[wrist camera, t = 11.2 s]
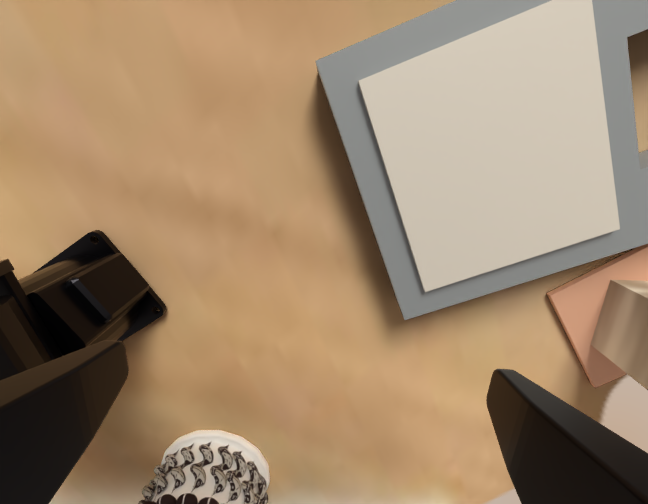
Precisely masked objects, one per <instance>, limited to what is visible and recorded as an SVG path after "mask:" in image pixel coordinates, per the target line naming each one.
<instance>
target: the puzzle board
mask: <svg viewBox="0 0 648 504" xmlns="http://www.w3.org/2000/svg"><path fill="white" fill-rule="evenodd" d="M647 29H648V0H456V1H453V2H451V3H449V4H446V5H444V6H442V7H440V8H437V9H435V10H433V11H430V12H428V13H426V14H423V15H421V16H419V17H416V18H414V19H412V20H409V21H407V22H405V23H402V24H400V25H398V26H395V27H393V28H391V29H388V30H386V31H384V32H381V33H379V34H377V35H375V36H372V37H370V38H368V39H365V40H363V41H361V42H358V43H356V44H354V45H351V46H349V47H347V48H344V49H342V50H340V51H337V52H335V53H333V54H330V55H328V56H326V57H323V58H321V59H319V60H317V61H316V66H317V70H318V74H319V77H320V79H321V82H322V85H323V88H324V91H325V94H326V97H327V100H328V103H329V105H330V108H331V111H332V114H333V117H334V120H335V123H336V126H337V129H338V132H339V134H340V137H341V140H342V143H343V146H344V149H345V152H346V155H347V158H348V161H349V163H350V166H351V169H352V172H353V175H354V178H355V181H356V184H357V187H358V189H359V192H360V195H361V198H362V201H363V204H364V207H365V210H366V213H367V216H368V218H369V221H370V224H371V227H372V230H373V233H374V236H375V239H376V242H377V245H378V247H379V250H380V253H381V256H382V259H383V262H384V265H385V268H386V271H387V273H388V276H389V279H390V282H391V285H392V288H393V291H394V294H395V297H396V300H397V302H398V305H399V307H400V310H401V312H402V315H403V317H404V320H407V319H410V318H414V317H417V316H420V315H423V314H426V313H429V312H433V311H436V310H439V309H442V308H445V307H448V306H452V305H455V304H458V303H461V302H464V301H468V300H471V299H474V298H477V297H480V296H483V295H487V294H490V293H493V292H496V291H499V290H502V289H506V288H509V287H512V286H515V285H518V284H521V283H525V282H528V281H531V280H534V279H537V278H541V277H544V276H547V275H550V274H553V273H556V272H560V271H563V270H566V269H569V268H572V267H575V266H579V265H582V264H585V263H588V262H591V261H595V260H598V259H601V258H604V257H607V256H610V255H614V254H617V253H620V252H623V251H626V250H629V249H633V248H636V247H639V246H642V245H645V244H648V150H646V151H643V152H640V153H638V142H637V132H636V122H635V112H634V102H633V92H632V82H631V72H630V62H629V52H628V42H627V37H629V36H632V35H634V34H637V33H639V32H642V31H644V30H647Z"/></svg>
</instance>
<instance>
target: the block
mask: <svg viewBox="0 0 648 504" xmlns="http://www.w3.org/2000/svg"><path fill="white" fill-rule="evenodd" d="M591 345H592V346H593V347H594V348H595V349H597V350H598V351H599V352H600V353H602V354H603V355H604V356H606V357H607V358H608V359H609V360H611V361H612V362H613V363H614V364H616V365H617V366H618V367H619V368H621V369H622V370H623V371H624V372H626V373H627V374H628V375H629V376H631V377H632V378H633V379H634V380H636V381H637V382H638V383H640V384H641V385H642V386H643V387H645V388H646V389H647V390H648V281H638V280H610V283H609V286H608V289H607V293H606V296H605V299H604V302H603V306H602V309H601V312H600V315H599V319H598V322H597V325H596V328H595V332H594V335H593V338H592V341H591Z"/></svg>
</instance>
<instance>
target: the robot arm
mask: <svg viewBox="0 0 648 504" xmlns="http://www.w3.org/2000/svg"><path fill="white" fill-rule="evenodd" d="M94 236H96V237H97V238H98V240H99V242H97V241H96V240H95V238H94ZM12 270H14V268H13V266H12V264H11V263H10V261H9V259H6V260H2V261H0V504H49V502H50V501H51V499H52V498H53V496H54V495H55V494H56V492H57V491H58V489H59V488H60V486H61V485H62V483H63V482H64V480H65V479H66V478H67V476H68V475H69V473H70V472H71V470H72V469H73V467H74V466H75V464H76V463H77V462H78V460H79V459H80V457H81V456H82V454H83V453H84V451H85V450H86V448H87V447H88V445H89V444H90V442H91V441H92V439H93V438H94V436H95V434H96V433H97V431H98V429H99V428H100V426H101V424H102V422H103V420H104V419H105V417H106V415H107V413H108V411H109V410H110V408H111V406H112V404H113V403H114V401H115V399H116V397H117V395H118V394H119V392H120V390H121V388H122V386H123V385H124V383H125V381H126V379H127V376H128V362H127V355H126V349H125V345H124V343H123V342H121V341H123V340H124V339H126V338H128V337H129V336H131V335H132V334H134V333H136V332H137V331H139V330H140V329H142V328H144V327H145V326H147V325H148V324H150V323H151V322H153V321H155V320H156V319H158V318H159V317H161V316H162V315H163V314H164V313H165V312H166V305H165V304H164V303H163V301H162V300H161V299H160V298H159V297H158V296H157V294H156V293H155V292H154V291H153V290H152V289H151V287H150V286H149V284H148V283H147V282H146V281H145V280H144V278H143V277H142V276H141V275H140V274H139V273H138V271H137V270H136V269H135V268H134V267H133V266H132V264H131V263H130V262H129V261H128V260H127V259H126V257H125V256H124V255H123V254H121V252H120V251H119V250H118V249H117V248H116V247H115V245H114V244H113V243H112V242H111V241H110V240H109V238H108V237H107V236H106V235H105V234H104V233H103V232H102V231H99V230H95V231H92V232H90V233H88V234H86V235H85V236H84V237H82V238H81V239H79V240H78V241H77V242H75V243H74V244H73V245H71V246H70V247H68V248H67V249H66V250H64V251H63V252H62V253H60V254H59V255H57V256H56V257H55V258H53V259H52V260H50V261H49V262H48V263H46V264H45V265H44V266H42V267H41V268H39V269H38V270H37V271H35V272H34V273H33V274H31V275H29V276H26V277H24V278H22V279H20V280H17V278H16V277H15V275H14V273H13V272H12ZM155 307H157V308H159V310H160V311H157V310H156V309H155ZM487 407H488V411H489V414H490V417H491V420H492V423H493V426H494V430H495V433H496V436H497V439H498V442H499V445H500V448H501V452H502V455H503V458H504V461H505V464H506V467H507V470H508V472H509V475H510V477H511V480H512V482H513V485H514V487H515V489H516V492H517V494H518V496H519V498H520V501H521V503H522V504H648V453H646V452H645V451H643V450H642V449H640V448H638V447H637V446H635V445H633V444H632V443H630V442H629V441H627V440H625V439H624V438H622V437H620V436H619V435H617V434H616V433H614V432H612V431H611V430H609V429H608V428H606V427H604V426H603V425H601V424H600V423H598V422H596V421H595V420H593V419H592V418H590V417H588V416H587V415H585V414H584V413H582V412H580V411H579V410H577V409H575V408H574V407H572V406H571V405H569V404H567V403H566V402H564V401H563V400H561V399H559V398H558V397H556V396H555V395H553V394H551V393H550V392H548V391H547V390H545V389H543V388H542V387H540V386H538V385H537V384H535V383H534V382H532V381H530V380H529V379H527V378H526V377H524V376H522V375H521V374H519V373H518V372H516V371H514V370H508V369H496V370H494V372H493V374H492V378H491V382H490V386H489V390H488V394H487Z"/></svg>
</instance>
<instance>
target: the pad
mask: <svg viewBox="0 0 648 504" xmlns="http://www.w3.org/2000/svg"><path fill="white" fill-rule="evenodd" d="M610 280H638V281H648V244H645V245H642V246H639V247H637V248H635V249H633V250H631V251H629V252H627V253H625V254H623V255H621V256H619V257H617V258H615V259H613V260H611V261H609V262H607V263H605V264H603V265H601V266H599V267H597V268H595V269H593V270H591V271H589V272H587V273H585V274H584V275H582V276H580V277H578V278H576V279H574V280H572V281H570V282H568V283H566V284H564V285H562V286H560V287H558V288H556V289H554V290H552V291H550V292H548V293H547V295H548V297H549V299H550V302H551V304H552V306H553V308H554V310H555V312H556V314H557V316H558V318H559V320H560V322H561V324H562V326H563V328H564V330H565V332H566V334H567V336H568V338H569V340H570V342H571V344H572V346H573V348H574V350H575V352H576V354H577V356H578V359H579V361H580V363H581V365H582V367H583V369H584V371H585V373H586V375H587V377H588V379H589V381H590V383H591V385H592V386H594V387H595V388H597V387H599V386H601V385H604V384H606V383H608V382H611V381H613V380H615V379H617V378H620V377H622V376H624V375H626V374H627V373H626V372H624V371H623V370H622V369H621V368H619V367H618V366H617V365H616V364H614V363H613V362H612V361H611V360H609V359H608V358H607V357H606V356H604V355H603V354H602V353H600V352H599V351H598V350H597V349H595V348H594V347H593V346H592V345H591V341H592V338H593V335H594V332H595V328H596V325H597V322H598V319H599V315H600V312H601V309H602V306H603V302H604V299H605V296H606V293H607V289H608V286H609V283H610Z"/></svg>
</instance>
